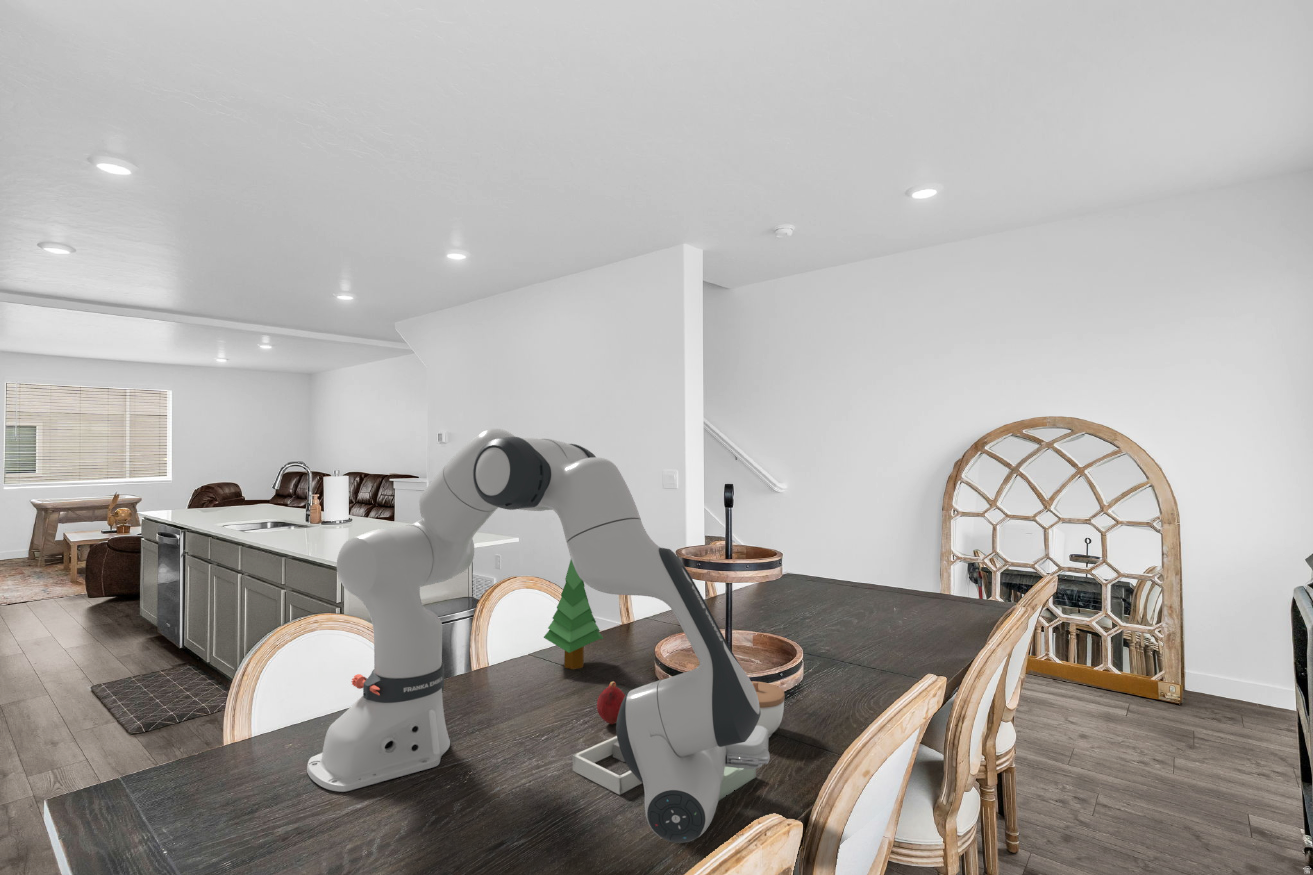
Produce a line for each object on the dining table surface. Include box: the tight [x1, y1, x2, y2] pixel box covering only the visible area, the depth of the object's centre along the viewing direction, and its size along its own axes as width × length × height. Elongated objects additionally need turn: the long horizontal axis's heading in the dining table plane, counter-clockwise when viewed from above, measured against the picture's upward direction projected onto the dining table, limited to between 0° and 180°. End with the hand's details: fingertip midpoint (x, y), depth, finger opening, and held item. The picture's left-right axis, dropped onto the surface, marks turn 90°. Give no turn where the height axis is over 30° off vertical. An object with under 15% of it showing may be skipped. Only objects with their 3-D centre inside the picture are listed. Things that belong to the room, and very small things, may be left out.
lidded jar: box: [751, 680, 786, 738], centre depth 123 cm, size 11×11×9 cm
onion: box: [596, 681, 626, 725], centre depth 126 cm, size 6×6×8 cm
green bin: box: [718, 767, 757, 802], centre depth 106 cm, size 12×11×2 cm
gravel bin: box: [572, 735, 643, 796], centre depth 109 cm, size 12×11×3 cm
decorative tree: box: [543, 558, 605, 670], centre depth 160 cm, size 14×16×30 cm
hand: (706, 718), depth 107 cm, fingers closed on sprinkles bottle, 4 cm apart
